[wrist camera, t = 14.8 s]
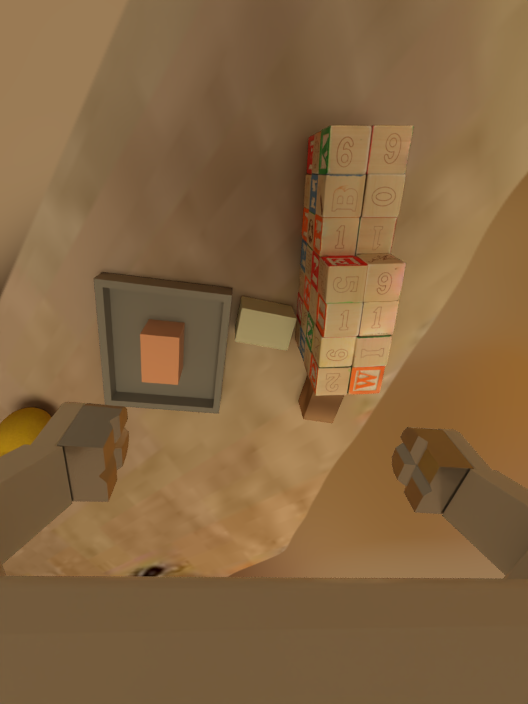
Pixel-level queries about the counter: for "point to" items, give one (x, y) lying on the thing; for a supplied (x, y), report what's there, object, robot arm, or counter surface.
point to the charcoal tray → (168, 305)
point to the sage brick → (264, 323)
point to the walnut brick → (318, 404)
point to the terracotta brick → (162, 351)
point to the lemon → (21, 428)
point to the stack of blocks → (350, 255)
